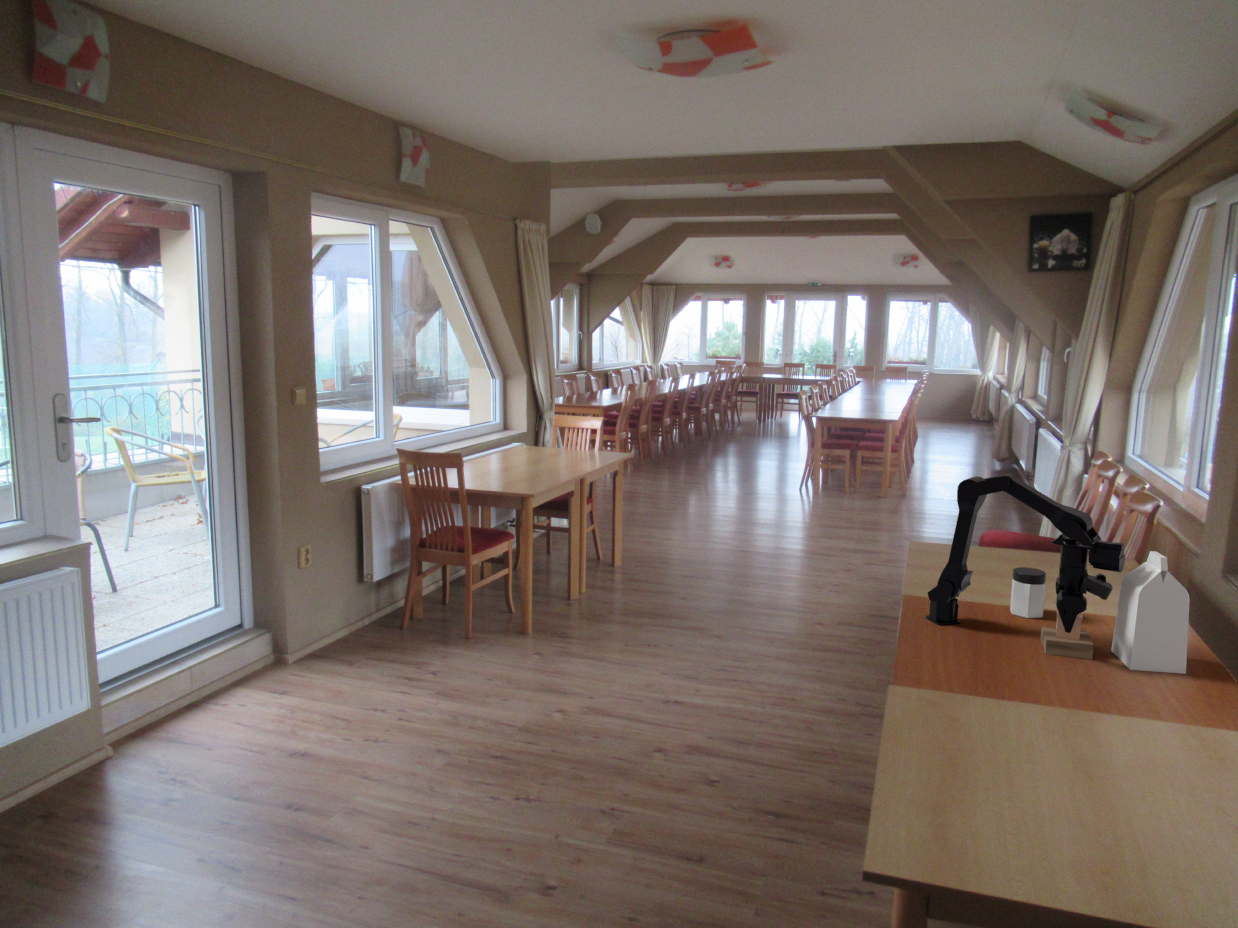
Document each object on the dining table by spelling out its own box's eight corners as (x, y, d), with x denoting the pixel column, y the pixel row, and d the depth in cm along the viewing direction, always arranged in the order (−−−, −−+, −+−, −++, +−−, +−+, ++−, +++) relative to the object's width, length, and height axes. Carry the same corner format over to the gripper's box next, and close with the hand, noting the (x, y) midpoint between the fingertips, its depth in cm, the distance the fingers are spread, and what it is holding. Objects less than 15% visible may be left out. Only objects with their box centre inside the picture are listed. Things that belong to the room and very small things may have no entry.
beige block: (1092, 661, 200) (1093, 645, 200) (1045, 655, 204) (1046, 639, 203) (1085, 646, 210) (1086, 631, 209) (1040, 641, 213) (1041, 626, 212)
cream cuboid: (1080, 640, 202) (1082, 616, 201) (1054, 636, 205) (1057, 613, 204) (1079, 633, 207) (1081, 609, 206) (1054, 629, 210) (1057, 606, 209)
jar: (1049, 614, 232) (1053, 572, 230) (1035, 620, 227) (1039, 577, 225) (1017, 606, 239) (1020, 565, 237) (1002, 612, 233) (1006, 570, 232)
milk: (1185, 673, 192) (1198, 562, 188) (1130, 669, 194) (1141, 559, 190) (1163, 653, 204) (1174, 549, 200) (1111, 650, 206) (1121, 546, 202)
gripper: (1114, 578, 191) (1108, 644, 194) (1109, 559, 208) (1103, 619, 210) (1059, 572, 196) (1053, 636, 199) (1058, 553, 213) (1052, 613, 215)
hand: (1067, 626), depth 206 cm, fingers open, 9 cm apart
